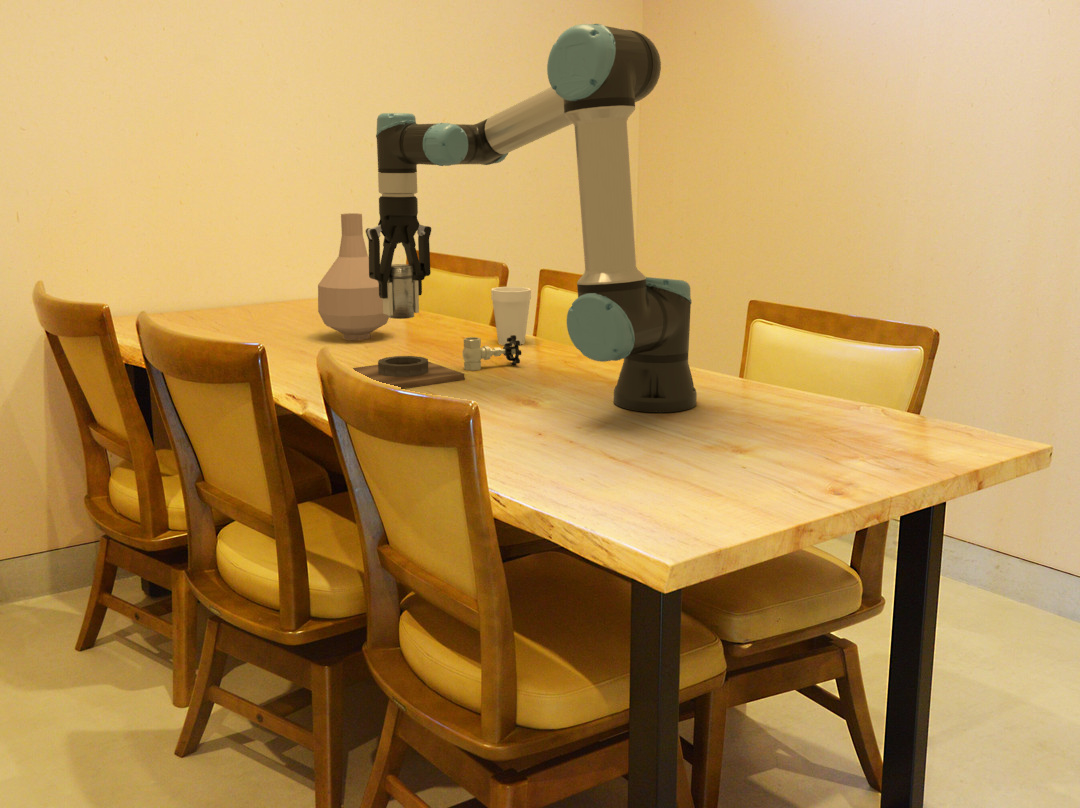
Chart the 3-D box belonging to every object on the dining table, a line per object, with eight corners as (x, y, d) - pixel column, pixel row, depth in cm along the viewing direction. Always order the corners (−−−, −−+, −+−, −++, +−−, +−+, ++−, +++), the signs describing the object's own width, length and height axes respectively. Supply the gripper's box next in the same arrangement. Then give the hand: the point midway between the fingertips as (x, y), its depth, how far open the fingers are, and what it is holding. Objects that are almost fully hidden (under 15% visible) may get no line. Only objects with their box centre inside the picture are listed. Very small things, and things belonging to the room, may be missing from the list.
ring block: (464, 379, 206) (464, 362, 205) (384, 391, 196) (384, 374, 195) (420, 364, 220) (420, 348, 219) (343, 374, 210) (343, 358, 209)
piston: (419, 317, 204) (418, 265, 202) (395, 319, 201) (394, 267, 199) (406, 313, 209) (405, 263, 206) (383, 316, 206) (381, 265, 203)
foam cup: (487, 345, 241) (486, 291, 238) (497, 338, 250) (497, 286, 247) (525, 347, 239) (525, 292, 236) (535, 340, 248) (535, 287, 244)
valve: (468, 373, 212) (521, 368, 217) (468, 342, 211) (521, 337, 216) (457, 367, 218) (509, 362, 223) (457, 336, 217) (509, 332, 221)
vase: (400, 341, 246) (396, 215, 239) (327, 346, 240) (320, 217, 233) (383, 329, 262) (379, 211, 255) (314, 334, 256) (308, 212, 248)
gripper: (429, 193, 207) (431, 306, 213) (346, 195, 197) (351, 314, 203) (448, 195, 201) (449, 311, 207) (364, 197, 191) (368, 320, 197)
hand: (401, 312), depth 205 cm, fingers closed on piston, 5 cm apart
